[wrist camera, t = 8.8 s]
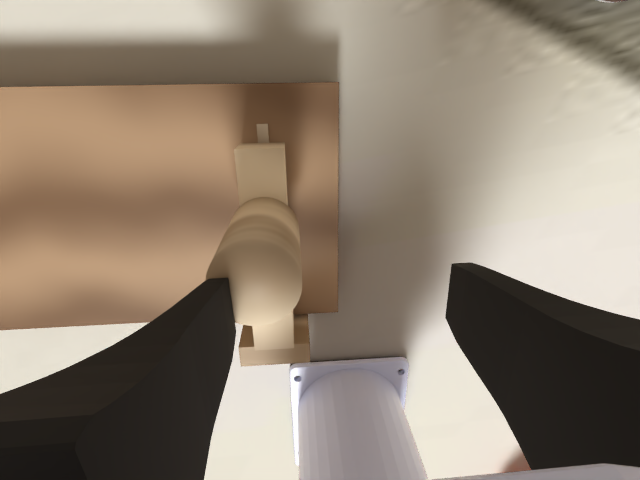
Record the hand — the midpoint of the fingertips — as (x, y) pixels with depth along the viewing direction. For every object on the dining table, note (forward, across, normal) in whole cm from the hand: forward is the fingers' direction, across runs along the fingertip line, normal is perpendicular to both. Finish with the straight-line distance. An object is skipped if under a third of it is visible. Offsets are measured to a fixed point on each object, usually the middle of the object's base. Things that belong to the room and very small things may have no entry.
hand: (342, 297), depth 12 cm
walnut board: (+9, +9, -1) cm, 13 cm away
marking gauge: (+9, +3, +1) cm, 10 cm away
